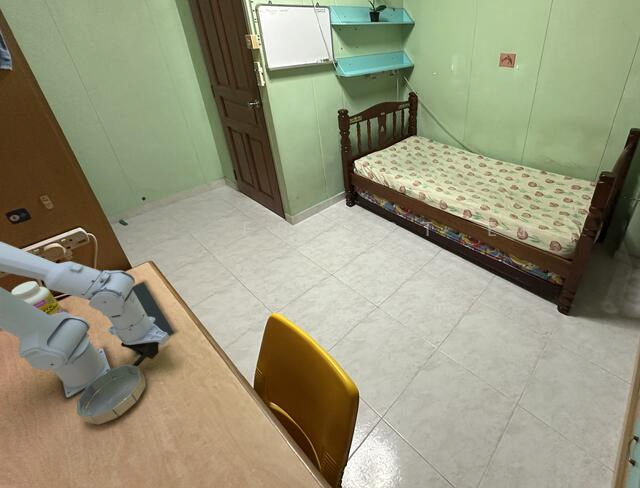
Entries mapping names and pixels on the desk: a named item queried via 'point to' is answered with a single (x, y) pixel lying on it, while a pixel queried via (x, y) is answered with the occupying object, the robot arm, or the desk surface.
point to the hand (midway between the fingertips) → (151, 354)
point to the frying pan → (112, 393)
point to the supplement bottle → (38, 297)
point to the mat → (151, 307)
